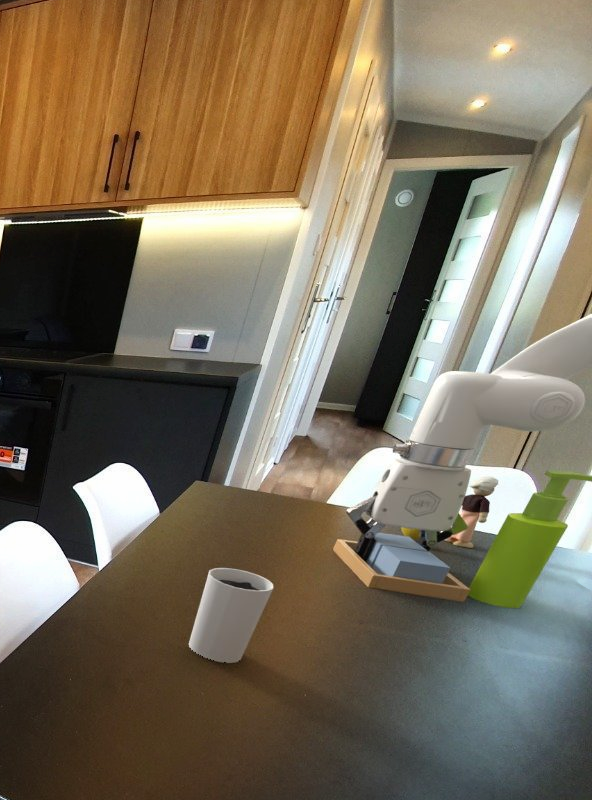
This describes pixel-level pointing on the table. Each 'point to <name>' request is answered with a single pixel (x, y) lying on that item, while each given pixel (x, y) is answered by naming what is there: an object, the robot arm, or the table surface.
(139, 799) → the table surface
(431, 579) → the blue-grey block
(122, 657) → the table surface
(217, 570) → the white cup
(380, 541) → the blue-gray block
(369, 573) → the wooden tray
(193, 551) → the table surface
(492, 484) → the grandmother figurine
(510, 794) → the table surface
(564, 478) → the soap dispenser
